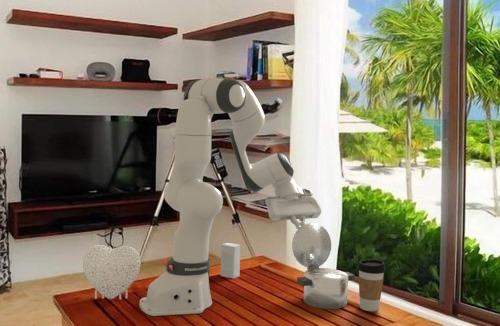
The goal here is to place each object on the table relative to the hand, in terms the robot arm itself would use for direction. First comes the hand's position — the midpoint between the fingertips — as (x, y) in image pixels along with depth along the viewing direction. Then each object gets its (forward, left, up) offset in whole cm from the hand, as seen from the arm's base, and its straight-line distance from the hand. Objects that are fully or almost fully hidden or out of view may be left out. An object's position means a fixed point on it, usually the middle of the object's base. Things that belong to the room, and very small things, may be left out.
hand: (301, 227), depth 180 cm
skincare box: (-19, +18, -21) cm, 34 cm away
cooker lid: (0, -8, -5) cm, 9 cm away
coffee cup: (+10, -27, -21) cm, 35 cm away
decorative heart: (-64, +8, -21) cm, 68 cm away
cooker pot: (0, -17, -21) cm, 27 cm away
